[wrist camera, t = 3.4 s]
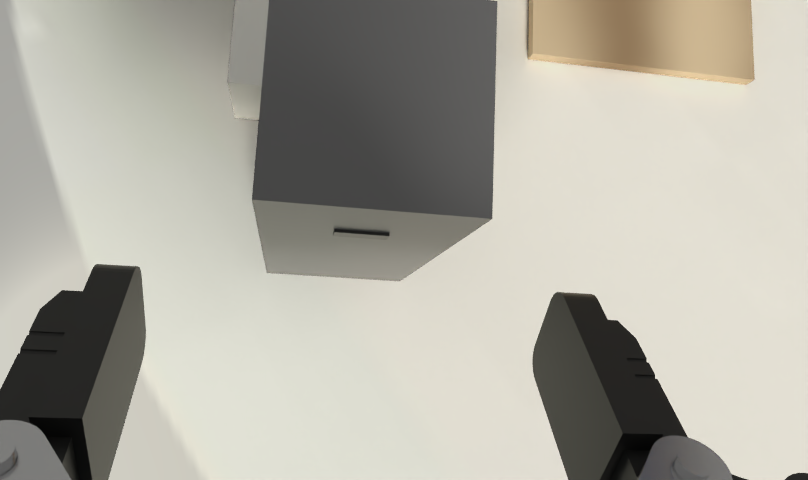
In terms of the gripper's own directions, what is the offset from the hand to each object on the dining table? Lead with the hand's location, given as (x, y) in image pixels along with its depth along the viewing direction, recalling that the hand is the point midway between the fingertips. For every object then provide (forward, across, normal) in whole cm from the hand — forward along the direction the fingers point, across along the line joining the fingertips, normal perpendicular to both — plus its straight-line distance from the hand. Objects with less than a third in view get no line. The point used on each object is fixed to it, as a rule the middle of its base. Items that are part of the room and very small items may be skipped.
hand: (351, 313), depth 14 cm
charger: (+10, 0, +4) cm, 11 cm away
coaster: (+18, -12, -4) cm, 21 cm away
